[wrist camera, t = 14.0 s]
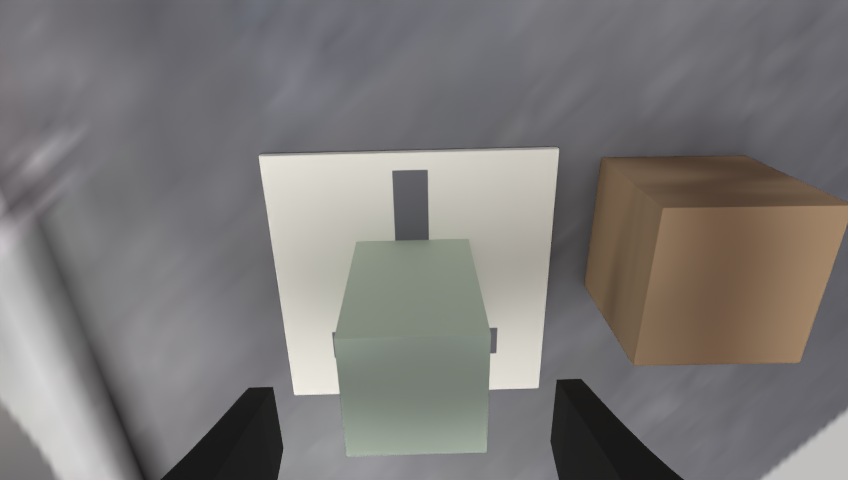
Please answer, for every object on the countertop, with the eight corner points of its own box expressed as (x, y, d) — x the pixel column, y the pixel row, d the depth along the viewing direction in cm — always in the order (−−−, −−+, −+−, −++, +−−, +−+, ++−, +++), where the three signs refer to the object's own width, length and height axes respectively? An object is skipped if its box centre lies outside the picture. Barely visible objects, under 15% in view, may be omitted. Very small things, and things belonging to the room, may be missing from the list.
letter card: (556, 146, 18) (559, 149, 18) (536, 383, 22) (538, 387, 22) (261, 153, 18) (258, 156, 18) (296, 389, 22) (294, 395, 22)
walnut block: (744, 155, 18) (853, 205, 14) (713, 282, 20) (799, 362, 16) (600, 156, 18) (663, 207, 14) (583, 284, 20) (633, 365, 16)
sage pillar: (468, 238, 19) (491, 334, 14) (466, 332, 21) (486, 452, 15) (356, 241, 19) (333, 339, 13) (363, 335, 21) (346, 456, 15)
